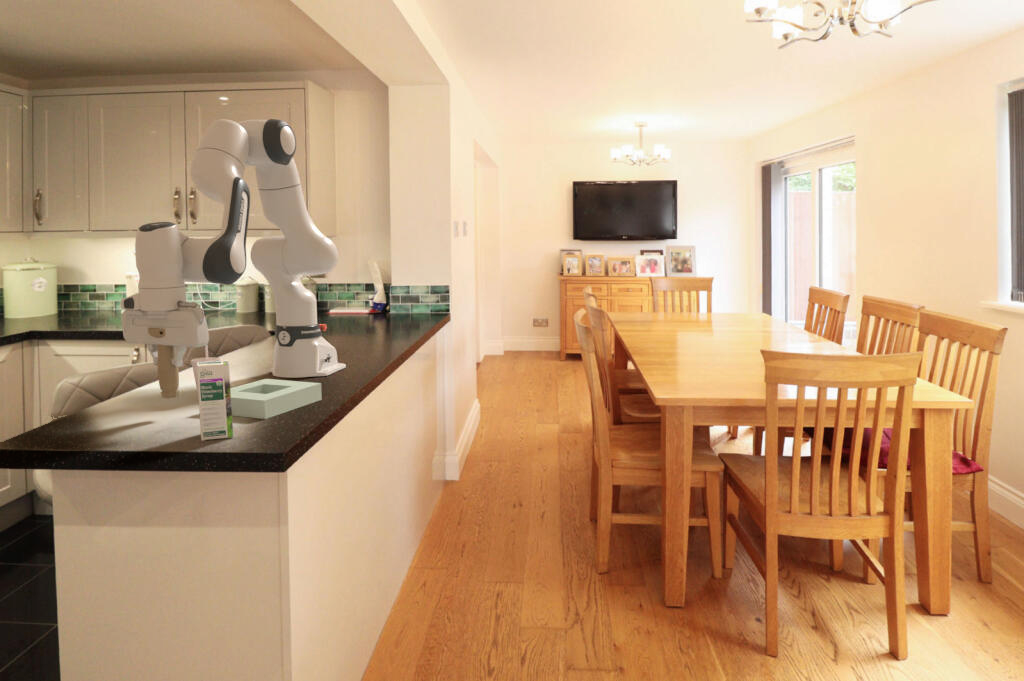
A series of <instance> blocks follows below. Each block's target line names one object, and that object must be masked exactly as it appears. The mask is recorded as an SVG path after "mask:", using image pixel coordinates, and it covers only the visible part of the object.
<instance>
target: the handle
mask: <svg viewBox="0 0 1024 681" xmlns="http://www.w3.org/2000/svg"><path fill="white" fill-rule="evenodd" d="M148 334H149V335H151V336H153V337H156V338H162V337H164V336H165V329H157V328H148ZM157 349H158V365H157V380H158V384H159V385H158V386H159V388H160V391H161V392H160V395H161V398H162V399H174V398H177V397H178V396H179V391H180V389H179V386H180V377H179V376H180V375H179V374H180V372H179V367H173V366H171V359H172V358H174V356H175V353H176V351H174V348H173V346H167V345H161V344H159V345H157Z"/></svg>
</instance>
